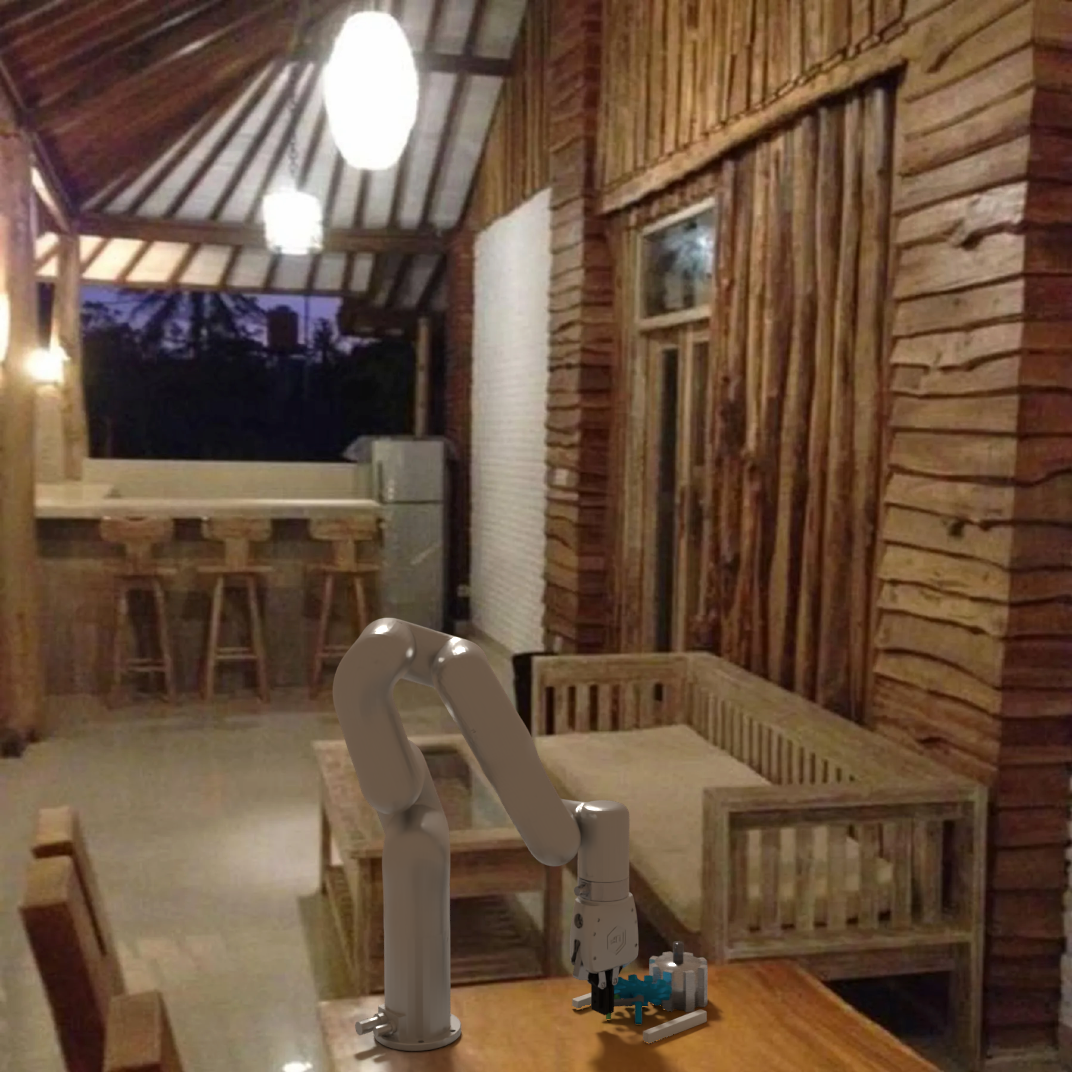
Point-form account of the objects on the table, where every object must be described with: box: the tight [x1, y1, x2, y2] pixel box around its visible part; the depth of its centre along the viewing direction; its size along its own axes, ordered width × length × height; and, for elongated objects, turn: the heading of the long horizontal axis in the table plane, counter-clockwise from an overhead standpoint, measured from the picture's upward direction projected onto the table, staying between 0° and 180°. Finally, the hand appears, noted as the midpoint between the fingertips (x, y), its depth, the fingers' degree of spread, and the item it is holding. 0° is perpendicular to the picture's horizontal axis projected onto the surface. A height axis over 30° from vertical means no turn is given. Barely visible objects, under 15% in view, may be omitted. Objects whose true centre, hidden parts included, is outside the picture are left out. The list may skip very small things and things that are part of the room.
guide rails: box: [571, 992, 708, 1044], centre depth 198 cm, size 12×16×2 cm
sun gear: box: [648, 940, 709, 1013], centre depth 204 cm, size 9×9×9 cm
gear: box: [605, 973, 672, 1025], centre depth 197 cm, size 11×6×10 cm
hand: (602, 1010), depth 194 cm, fingers closed
